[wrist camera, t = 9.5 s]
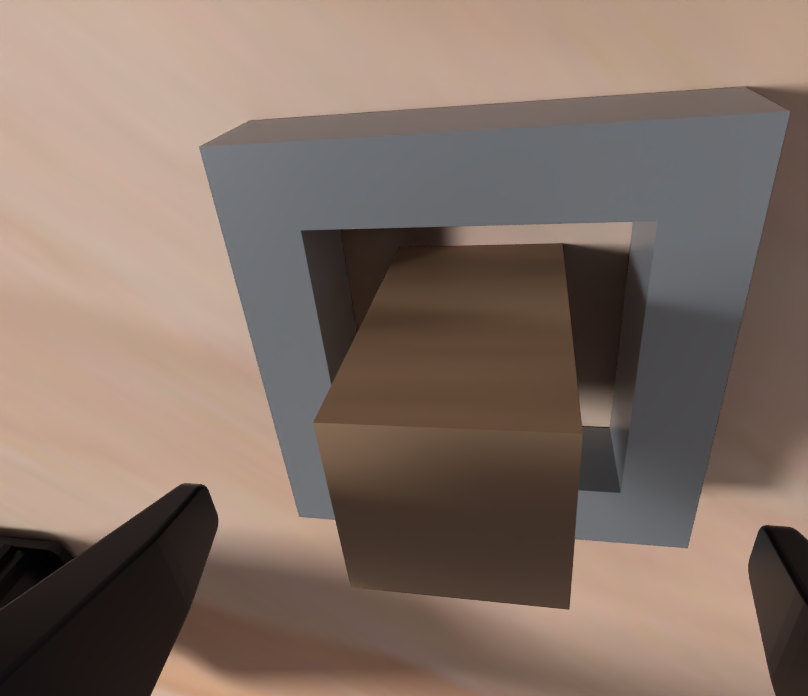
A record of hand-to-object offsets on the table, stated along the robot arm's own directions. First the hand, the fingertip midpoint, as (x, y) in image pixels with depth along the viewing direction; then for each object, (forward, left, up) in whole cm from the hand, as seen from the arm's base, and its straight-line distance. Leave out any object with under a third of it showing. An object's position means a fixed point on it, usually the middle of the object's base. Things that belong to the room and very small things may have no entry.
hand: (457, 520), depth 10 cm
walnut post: (0, 0, -7) cm, 7 cm away
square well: (0, 0, -7) cm, 7 cm away
